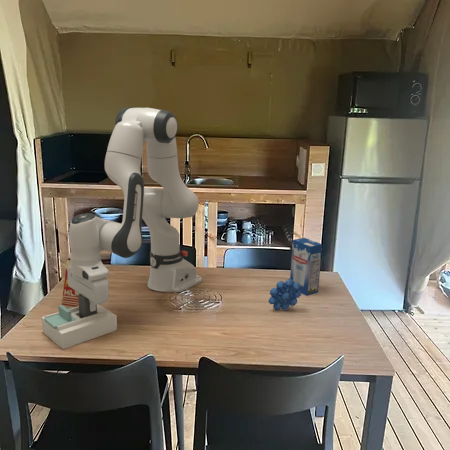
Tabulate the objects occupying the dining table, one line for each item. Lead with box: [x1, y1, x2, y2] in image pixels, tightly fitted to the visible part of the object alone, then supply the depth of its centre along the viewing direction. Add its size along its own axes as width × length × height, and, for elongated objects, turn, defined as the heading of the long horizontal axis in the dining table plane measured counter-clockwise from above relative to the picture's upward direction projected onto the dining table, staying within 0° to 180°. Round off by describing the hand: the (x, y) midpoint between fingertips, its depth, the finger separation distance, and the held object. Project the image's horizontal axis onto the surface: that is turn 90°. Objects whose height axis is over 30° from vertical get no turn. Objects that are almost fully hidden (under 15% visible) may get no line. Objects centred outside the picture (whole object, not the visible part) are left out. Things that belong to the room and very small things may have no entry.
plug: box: [78, 294, 97, 318], centre depth 144 cm, size 4×4×10 cm
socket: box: [41, 304, 118, 350], centre depth 143 cm, size 18×14×6 cm
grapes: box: [268, 278, 303, 311], centre depth 162 cm, size 12×7×12 cm, turn 95°
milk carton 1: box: [60, 257, 79, 309], centre depth 160 cm, size 9×9×20 cm
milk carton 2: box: [289, 237, 323, 297], centre depth 179 cm, size 10×6×20 cm, turn 34°
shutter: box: [44, 304, 77, 329], centre depth 138 cm, size 7×7×4 cm
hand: (88, 307), depth 144 cm, fingers closed on plug, 4 cm apart
